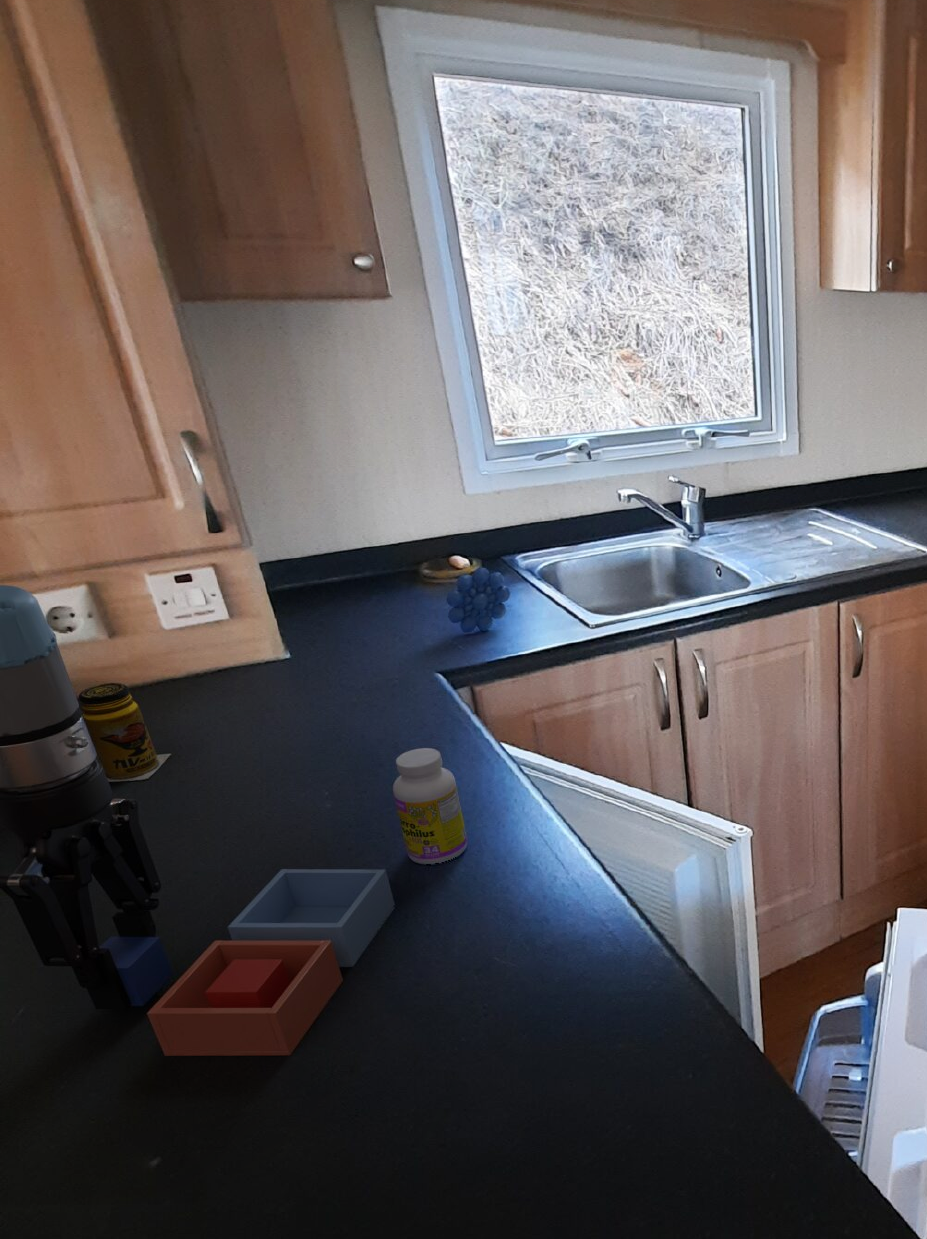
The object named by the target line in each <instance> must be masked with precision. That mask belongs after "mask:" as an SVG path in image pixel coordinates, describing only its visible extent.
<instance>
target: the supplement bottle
mask: <svg viewBox="0 0 927 1239" xmlns="http://www.w3.org/2000/svg"><path fill="white" fill-rule="evenodd" d="M395 764H396V770H397V772H398V773H399V775H398V777H397V778H396V779H395V780H394V783H393V785H392V793H393V798H394V802H395V805H396V808H397V809H396V810H397V814H398V819H399V823H400V828H401V832H402V836H403V840H404V845H405V849H406V852H407V855H408V858H409V859H410V860H411V861H412V862H414V863H417V864H419V865H420V864H421V865H426V864H431V865H436V864H435V863H439V864H443V863H442V862H444V863H446V862H445V861H447V862H449V861H448V860H450V861H452V860H454V859H456V858H458V857H460V856H461V855H462V854H463V853H464V852H465V850H466V849H467V847H468V836H467V832H466V831H467V830H466V826H465V821H464V817H463V811H462V807H461V803H460V798H459V793H458V787H457V782H456V778H455V776H454V774H453V773H452V772H451V771H450V770H449V769H447V768H445V767H443V760H442V755H441V752H440V751H439V750H437V749H435V748H430V747H421V748H414V749H411V750H408V751H405V752H403V753H401V754H400V755H399V756H398V757H396V759H395ZM455 857H456V858H455ZM453 858H454V859H453ZM451 859H452V860H451ZM439 864H438V865H439ZM431 865H430V866H431Z"/></svg>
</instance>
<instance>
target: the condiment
mask: <svg viewBox="0 0 927 1239" xmlns="http://www.w3.org/2000/svg"><path fill="white" fill-rule="evenodd" d="M78 699H79V700H78V701H80V702H81V708H82V710H83V713H82V717H83V720H84V722H85V725H86V727H87V730H88V733H89V735H90V738H91V740H92V743H93V746H94V748H95V751H96V753H97V757H98V761H99V762H100V763H101V764H102V766H103V769H104V772H105V774H106V777H107V780H108V782H109V783H110V782H112V783H115V782H128V781H129V782H131V781H143V780H147V779H150V777H152V775H154V774H155V773H156V772H157V771H158V770H159V769H160V768H161V767H162V765H163V764H164V763H165V762H166V761H167V759H168V758H169V757H170V756H171V755H172V753H163V754H157V752H156V749H155V748H154V747H155V746H154V744H153V741H152V738H151V736H150V733H149V731H148V727H147V726H146V723H145V720H144V716H143V713H142V712H141V709H140V707H139V704H138V703H137V702H136V701H134V700H133V695H132V694H131V693H130V689H129V687H128V686H127V685H125V684H124V683H121V682H106V683H101V684H97V685H93V686H89V687H88V688H85V689H83V690H82V691H81V692H80V693H79V694H78Z"/></svg>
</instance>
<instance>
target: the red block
mask: <svg viewBox="0 0 927 1239" xmlns="http://www.w3.org/2000/svg"><path fill="white" fill-rule="evenodd" d="M289 985H290V981H289V978H288V975H287V972H286V969H285V966H284V963H283V960H282V959H239V960H233V961H232V962H231V963H230V965H229V966H228V967H227V968H226V969H225V970H224V971H223V972H222V974H221V975H220V976H219V977H218V978H217V979H216V980H215V982H214V983H213V984H212V985H211V986H210V987H209V988H208V989H207V991H206V992H205V993H206V996H207V998H208V1001H209V1003H210V1006H211V1008H272V1007H273V1006H274V1004H275V1003H276V1002H277V1000H278V999H279V998H280V997H281V995H282V994H283V993H284V991H285V990H286V989H287V988H288V986H289Z"/></svg>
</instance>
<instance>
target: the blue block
mask: <svg viewBox="0 0 927 1239" xmlns="http://www.w3.org/2000/svg"><path fill="white" fill-rule="evenodd" d="M99 948H109V951H110V953H111V955H112V958H113V960H114V963H115V965H116V967H117V970H118V973H119V975H120V978H121V980H122V983H123V985H124V987H125V990H126V992H127V995H128V997H129V999H130V1002H131V1005H130V1006H129V1007H144V1006H145V1005H146V1004H147V1003H148V1001H149V1000H151V998H153V996H154V995H155V994H156V993H157V992H158V991H159V990H160V989H161V988H162V987H163V986H164V985H165V984H166V982H167V981H169V979H170V978H171V977H172V976H173V975H174V971H173V968H172V966H171V964H170V961H169V959H168V955H167V953H166V951H165V948H164V946H163V943H162V940H161V938H160V937H159V936H156V937H120V936H110V937H108V938H107V940H106V941H104V942H103V943H102V944H101V945H100V946H99ZM85 989H86V992H87V993H88V996H89V999H90V1001H91V1003H92V1005H93V1006H94V1004H93V1001H92V999H91V997H90V995H89V992H88V990H87V988H85Z"/></svg>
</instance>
